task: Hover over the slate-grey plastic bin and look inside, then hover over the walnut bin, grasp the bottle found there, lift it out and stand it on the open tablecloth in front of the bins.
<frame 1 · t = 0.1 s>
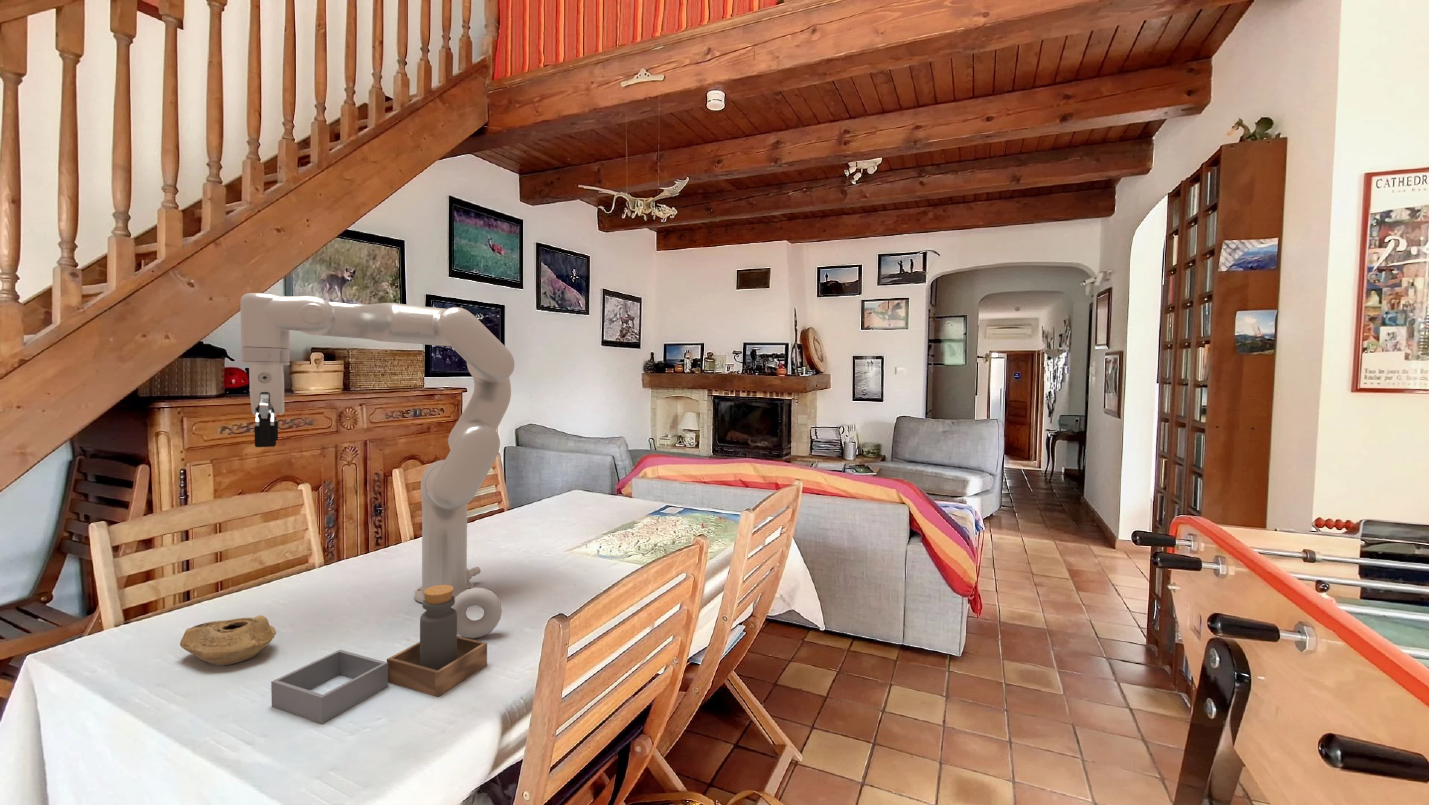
hand: (266, 443, 114), 37 cm above the table, tool pointing down, fingers open, 9 cm apart
oil lamp: (227, 659, 103), on the table
walnut bin: (438, 673, 101), on the table
bottle: (438, 674, 101), resting in walnut bin
grey bin: (331, 695, 93), on the table
donut: (474, 638, 114), on the table
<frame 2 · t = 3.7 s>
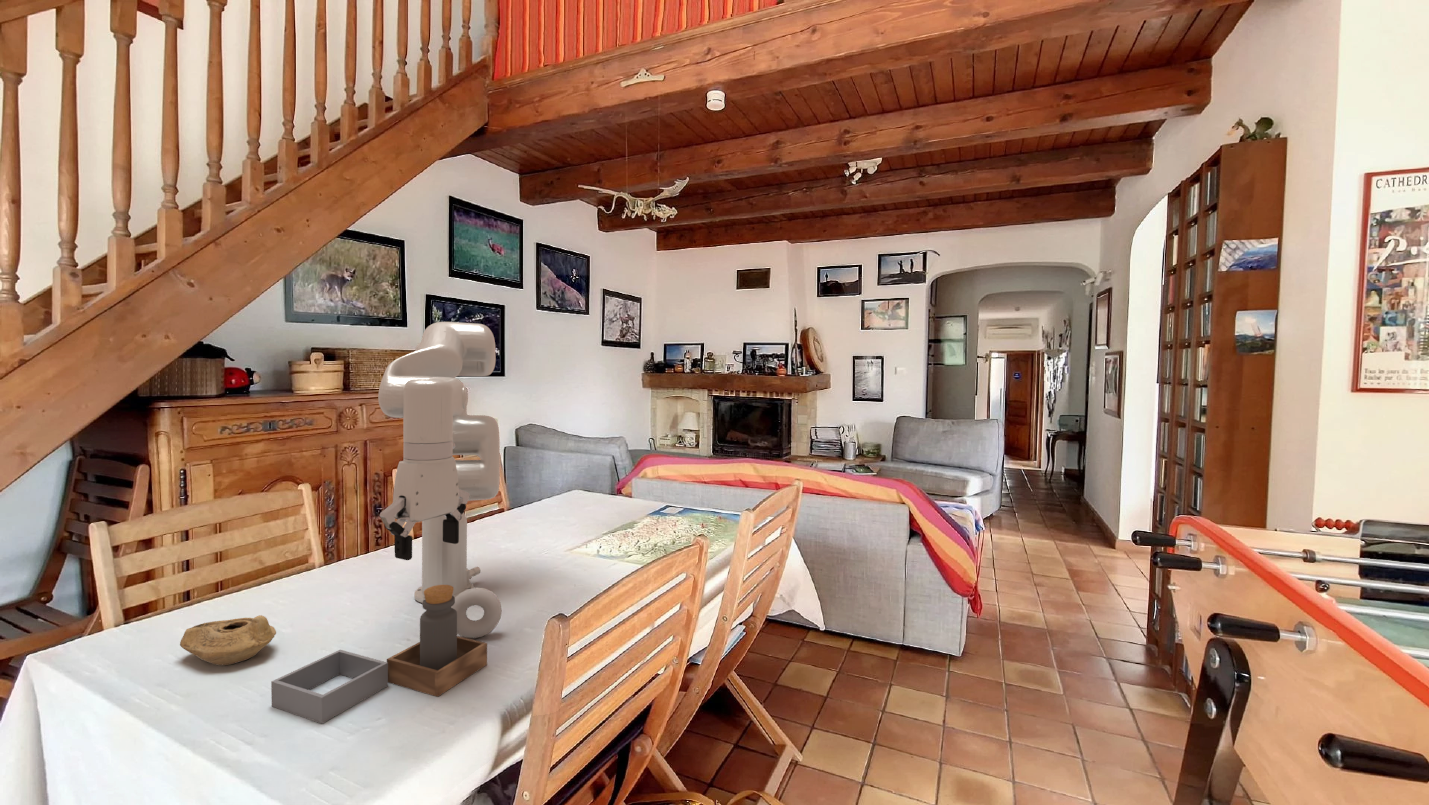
hand: (428, 550, 99), 22 cm above the table, tool pointing down, fingers open, 9 cm apart
nothing on the table moved.
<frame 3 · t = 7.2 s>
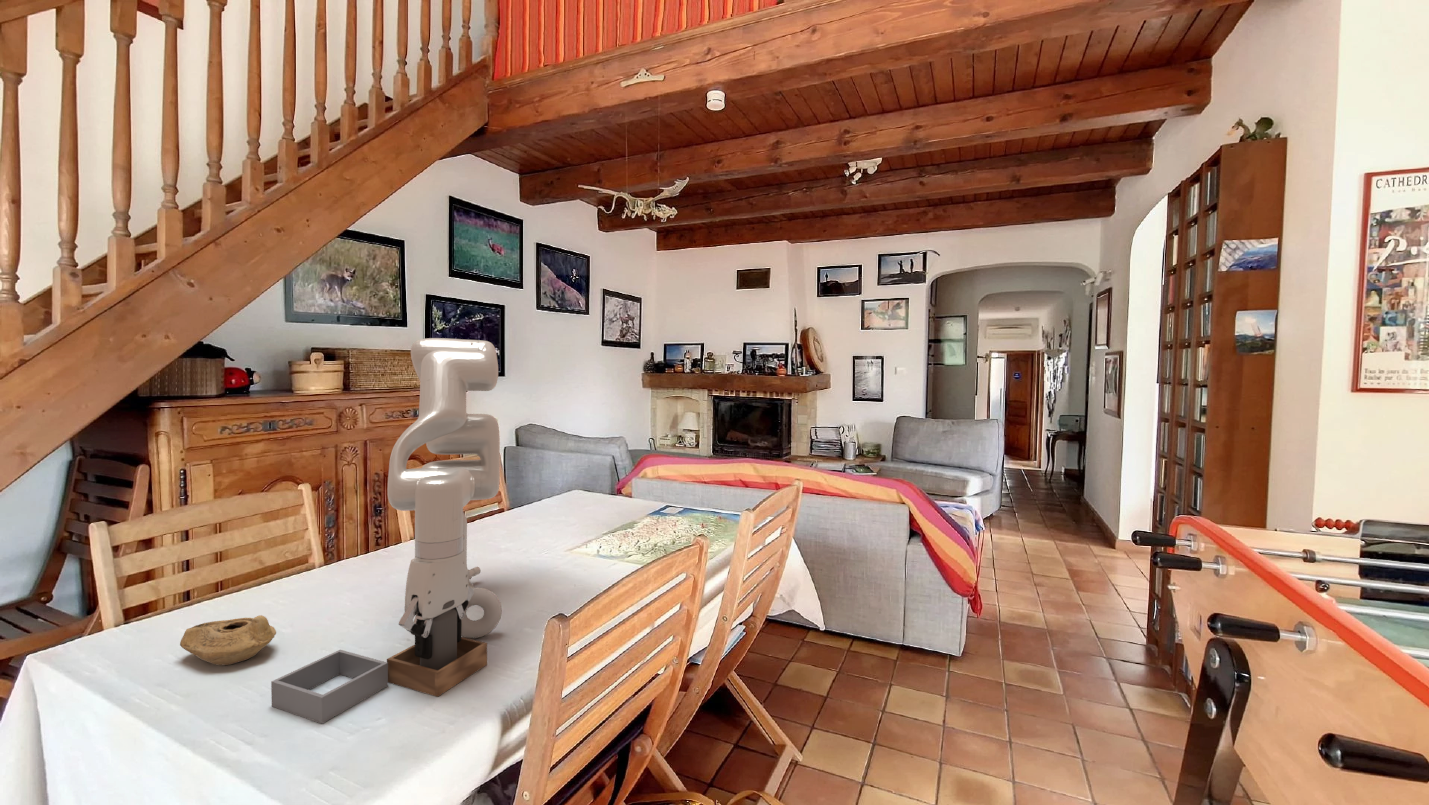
hand: (438, 647, 100), 5 cm above the table, tool pointing down, fingers closed on bottle, 5 cm apart
bottle: (438, 674, 101), resting in walnut bin, touching gripper
everything else where it was.
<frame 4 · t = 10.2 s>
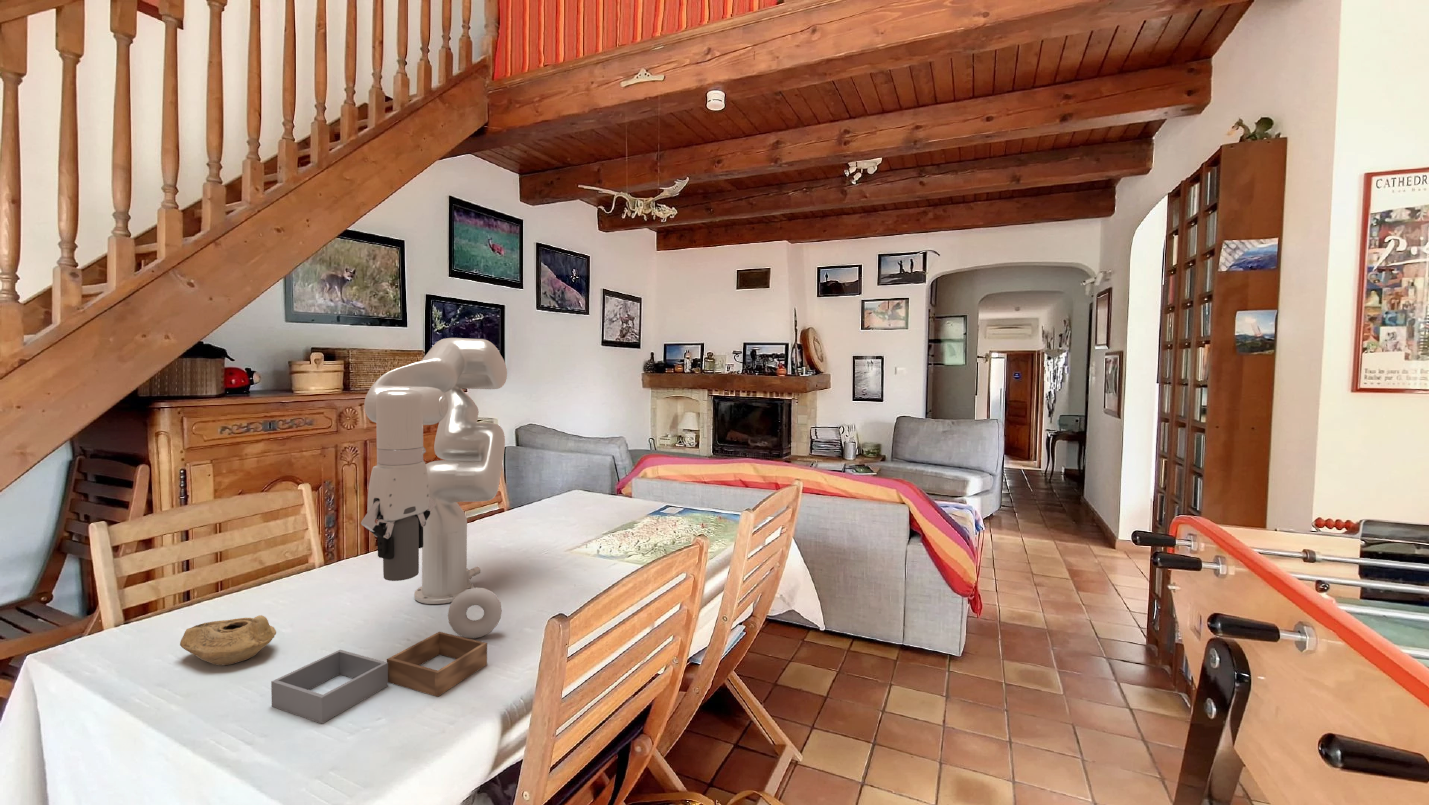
hand: (401, 551, 107), 19 cm above the table, tool pointing down, fingers closed on bottle, 5 cm apart
bottle: (401, 576, 107), point 14 cm above the table, touching gripper
everything else where it was.
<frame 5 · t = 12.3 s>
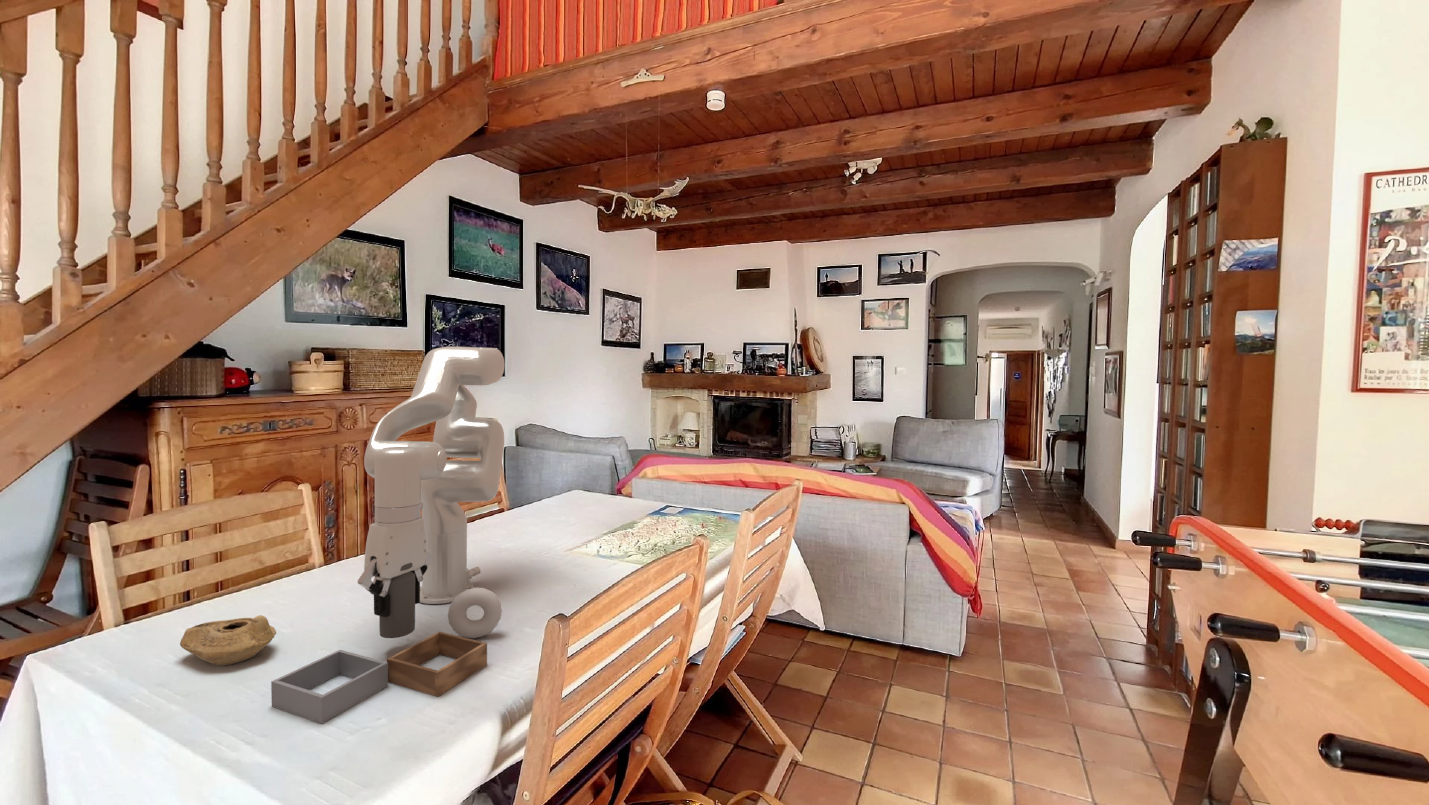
hand: (397, 607, 107), 8 cm above the table, tool pointing down, fingers closed on bottle, 5 cm apart
bottle: (397, 632, 108), point 4 cm above the table, touching gripper
everything else where it was.
when the fingers open (6 cm above the table, at t = 13.7 s): bottle drops 1 cm, on the table.
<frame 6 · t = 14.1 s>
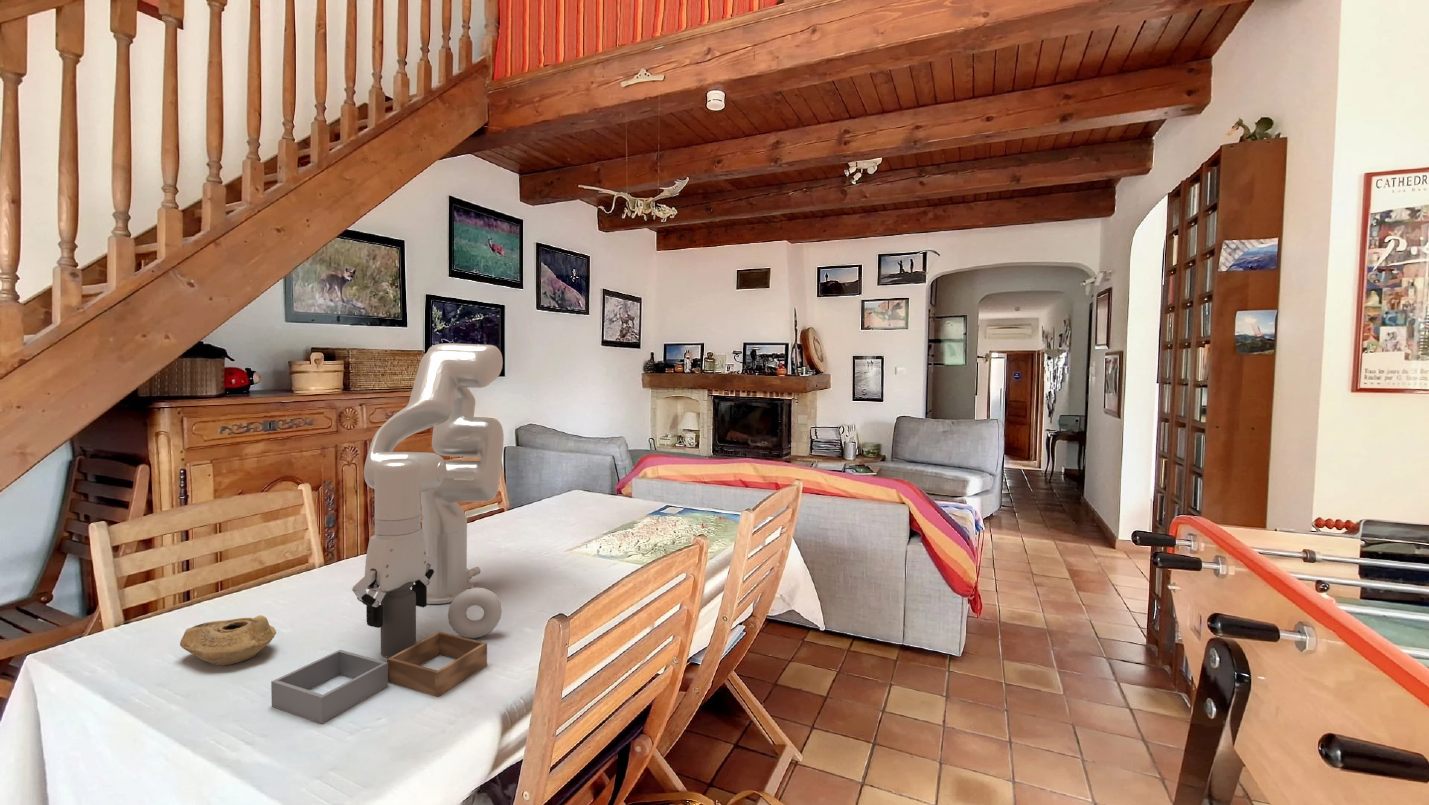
hand: (397, 615, 108), 7 cm above the table, tool pointing down, fingers open, 9 cm apart
bottle: (398, 651, 108), on the table
everything else where it was.
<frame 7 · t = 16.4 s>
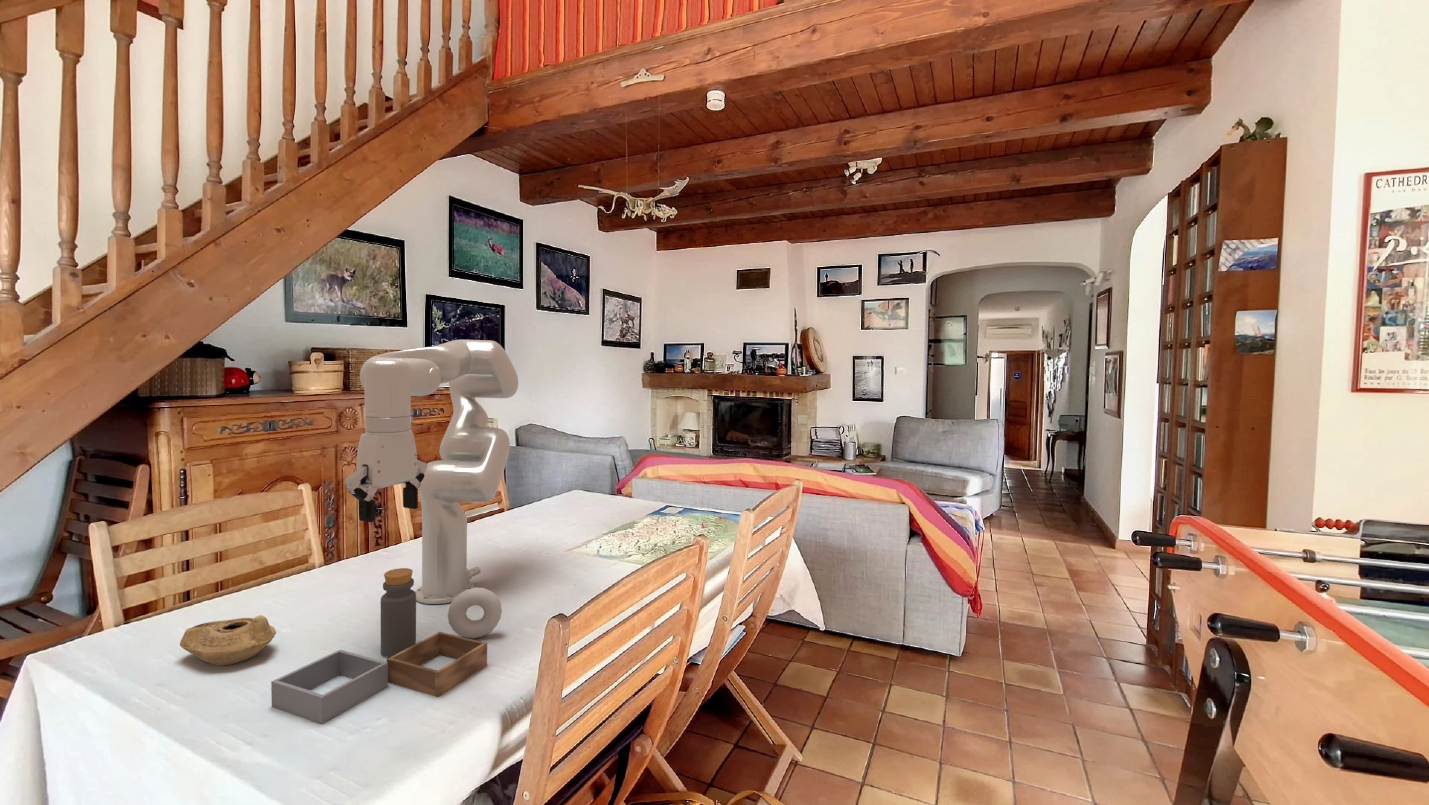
hand: (389, 514, 109), 25 cm above the table, tool pointing down, fingers open, 9 cm apart
nothing on the table moved.
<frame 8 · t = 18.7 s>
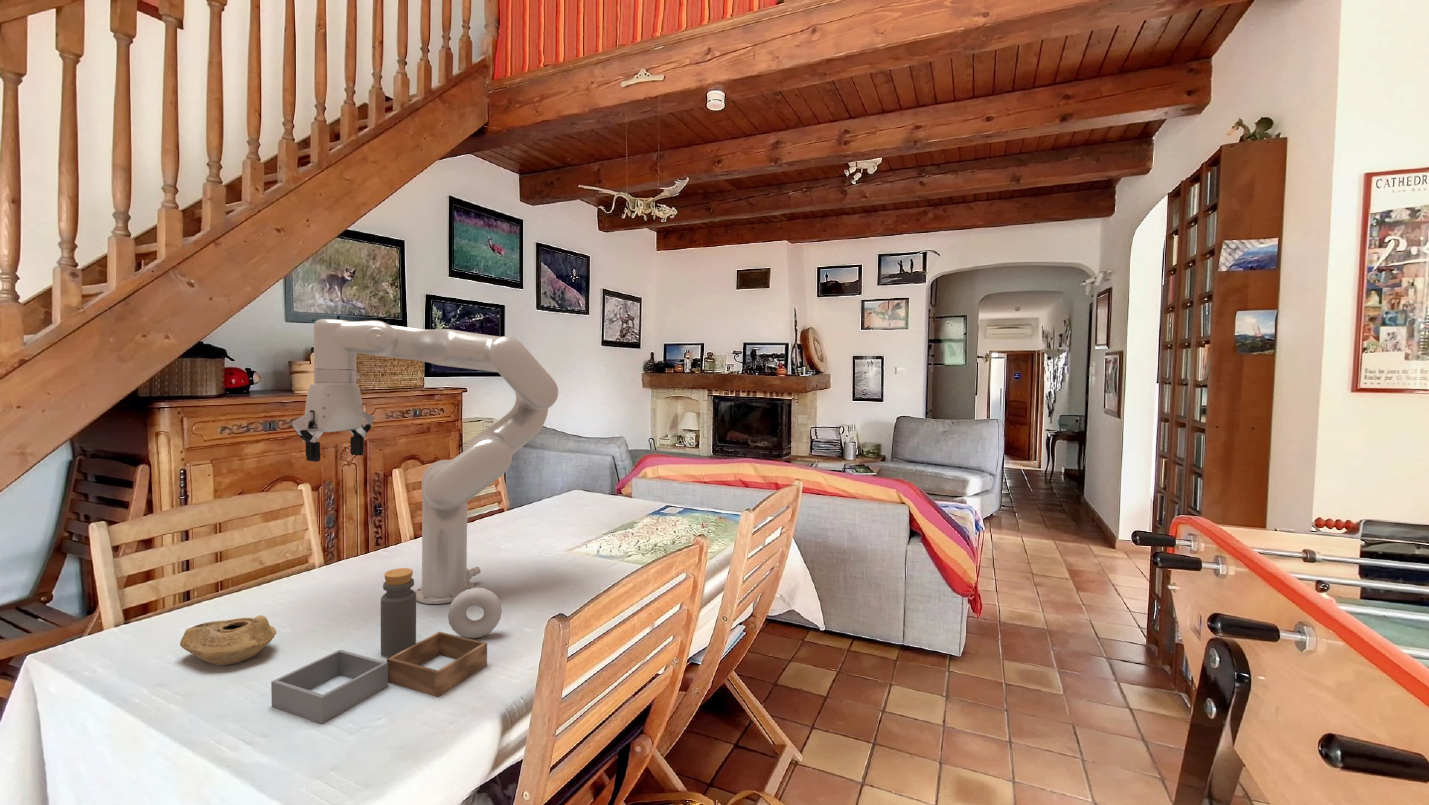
hand: (335, 457, 123), 33 cm above the table, tool pointing down, fingers open, 9 cm apart
nothing on the table moved.
at the end: bottle inside the target area (0.2 cm from its centre), on the table; bottle tilted 0°; the gripper is holding nothing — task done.
